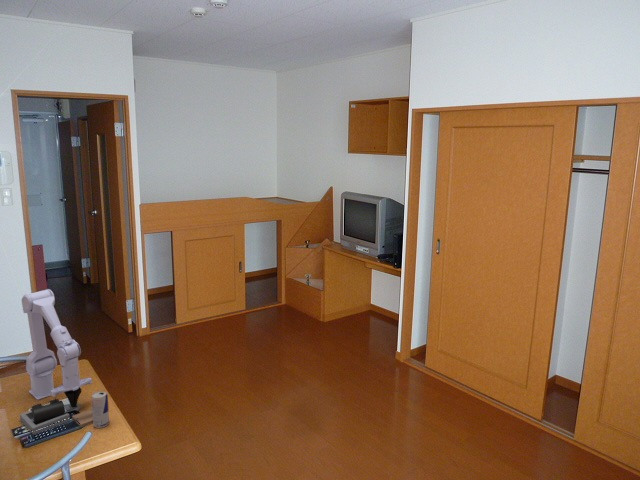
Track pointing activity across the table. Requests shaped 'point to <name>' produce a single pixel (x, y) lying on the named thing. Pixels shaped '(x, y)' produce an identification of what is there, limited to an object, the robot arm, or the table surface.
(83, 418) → the walnut stand
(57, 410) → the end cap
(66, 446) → the table surface
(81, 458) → the table surface
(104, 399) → the energy drink
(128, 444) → the table surface
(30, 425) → the corral stand
